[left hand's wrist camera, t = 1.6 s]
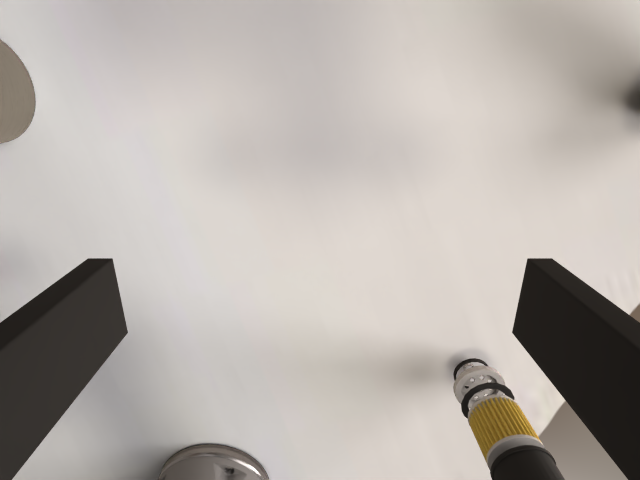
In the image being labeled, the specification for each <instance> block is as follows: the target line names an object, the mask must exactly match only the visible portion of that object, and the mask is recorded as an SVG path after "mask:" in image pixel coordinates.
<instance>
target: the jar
mask: <svg viewBox="0 0 640 480" xmlns="http://www.w3.org/2000/svg"><path fill="white" fill-rule="evenodd" d="M34 111H35V93H34V88H33V84H32V81H31V78H30V76H29V74H28V71H27V70H26V68H25V66H24V64H23V63H22V61H21V60H20V59H19V57H18V56H17V55H16V54H15V52H14V51H13V50H12V49H11V48H10V47H9V46H8V45H7V44H5V43H4V42H3V41H1V40H0V143H4V142H9V141H11V140H14V139H15V138H17V137H19V136H20V135H21V134H22V133H24V131H25V130H26V129H27V128H28V126H29V125H30V123H31V121H32V118H33V115H34Z"/></svg>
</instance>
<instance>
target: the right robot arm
mask: <svg viewBox="0 0 640 480" xmlns="http://www.w3.org/2000/svg"><path fill="white" fill-rule="evenodd" d="M158 480H269V478H268V476H267V473H266V472H265V470H264V468H263V467H262V466H261V465H260V464H259V463H258V462H257V461H256V460H255V459H254V458H252V457H251V456H249V455H248V454H246V453H244V452H242V451H240V450H237V449H235V448H231V447H227V446H222V445H212V444H207V445H197V446H192V447H189V448H186V449H184V450H181V451H179V452H178V453H176V454H174V455H173V456H172V457H171V458H170V459H169V460H168V461H167V462H166V463H165V465H164V467H163V469H162V471H161V473H160V476H159V478H158Z"/></svg>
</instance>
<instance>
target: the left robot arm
mask: <svg viewBox="0 0 640 480" xmlns="http://www.w3.org/2000/svg"><path fill="white" fill-rule="evenodd" d="M127 333H128V331H127V327H126V322H125V317H124V312H123V307H122V302H121V298H120V293H119V288H118V283H117V278H116V273H115V269H114V264H113V259H87V260H86V261H84V262H83V263H81V264H80V265H79V266H77V267H76V268H75V269H73V270H72V271H70V272H69V273H68V274H66V275H65V276H64V277H62V278H61V279H60V280H58V281H57V282H55V283H54V284H53V285H51V286H50V287H49V288H47V289H46V290H45V291H43V292H42V293H40V294H39V295H38V296H36V297H35V298H34V299H32V300H31V301H29V302H28V303H27V304H25V305H24V306H23V307H21V308H20V309H19V310H17V311H16V312H14V313H13V314H12V315H10V316H9V317H8V318H6V319H5V320H4V321H2V322H1V323H0V480H12V479H13V477H14V476H15V475H16V474H17V472H18V471H19V470H20V468H21V467H22V466H23V465H24V463H25V462H26V461H27V460H28V458H29V457H30V456H31V455H32V453H33V452H34V451H35V449H36V448H37V447H38V446H39V444H40V443H41V442H42V441H43V439H44V438H45V437H46V435H47V434H48V433H49V432H50V430H51V429H52V428H53V427H54V425H55V424H56V423H57V422H58V420H59V419H60V418H61V416H62V415H63V414H64V413H65V411H66V410H67V409H68V408H69V406H70V405H71V404H72V403H73V401H74V400H75V399H76V397H77V396H78V395H79V394H80V392H81V391H82V390H83V389H84V387H85V386H86V385H87V384H88V382H89V381H90V380H91V378H92V377H93V376H94V375H95V373H96V372H97V371H98V370H99V368H100V367H101V366H102V365H103V363H104V362H105V361H106V359H107V358H108V357H109V356H110V354H111V353H112V352H113V351H114V349H115V348H116V347H117V346H118V344H119V343H120V342H121V340H122V339H123V338H124V337H125V335H126V334H127ZM512 333H513V334H514V335H515V337H516V338H517V339H518V340H519V342H520V343H521V344H522V346H523V347H524V348H525V349H526V351H527V352H528V353H529V354H530V356H531V357H532V358H533V359H534V361H535V362H536V363H537V365H538V366H539V367H540V368H541V370H542V371H543V372H544V373H545V375H546V376H547V377H548V378H549V380H550V381H551V382H552V384H553V385H554V386H555V387H556V389H557V390H558V391H559V392H560V394H561V395H562V396H563V397H564V399H565V400H566V401H567V402H568V404H569V405H570V406H571V408H572V409H573V410H574V411H575V413H576V414H577V415H578V416H579V418H580V419H581V420H582V422H583V423H584V424H585V425H586V427H587V428H588V429H589V430H590V432H591V433H592V434H593V435H594V437H595V438H596V439H597V441H598V442H599V443H600V444H601V446H602V447H603V448H604V449H605V451H606V452H607V453H608V454H609V456H610V457H611V458H612V460H613V461H614V462H615V463H616V465H617V466H618V467H619V468H620V470H621V471H622V472H623V473H624V475H625V476H626V477H627V479H628V480H640V323H639V322H638V321H636V320H635V319H634V318H632V317H631V316H630V315H628V314H627V313H626V312H624V311H623V310H621V309H620V308H619V307H617V306H616V305H615V304H613V303H612V302H611V301H609V300H608V299H606V298H605V297H604V296H602V295H601V294H600V293H598V292H597V291H595V290H594V289H593V288H591V287H590V286H589V285H587V284H586V283H585V282H583V281H582V280H580V279H579V278H578V277H576V276H575V275H574V274H572V273H571V272H570V271H568V270H567V269H565V268H564V267H563V266H561V265H560V264H559V263H557V262H556V261H554V260H553V259H527V264H526V269H525V273H524V278H523V283H522V288H521V293H520V298H519V302H518V307H517V312H516V317H515V322H514V327H513V331H512Z"/></svg>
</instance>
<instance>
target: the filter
mask: <svg viewBox="0 0 640 480" xmlns="http://www.w3.org/2000/svg"><path fill="white" fill-rule="evenodd" d="M470 362H479V363H482V364H484V365H485V366H475V367H473V365H472V364H470ZM463 365H464V366H463ZM468 365H471V366H472V368H469V369H467V370H465V367H466V366H468ZM462 366H463V367H464V371H463V372H462V373H461V374H460V375H459V376H458V377H457V379H456V374H457V371H458V370H459V369H460V367H462ZM453 375H454V380H455V383H454V387H453V388H454V393H455V396H456V398H457V400H458V401H459V403H461V407H462V412H463V414H464V416H465V417H466V418H467V419H468V422H469V425H470V427H471V429H472V431H473V433H474V435H475V438H476V440H477V442H478V444H479V447H480V449H481V451H482V453H483V456H484V458H485V460H486V462H487V465H488V467H489V469H490V474H491V478H492V480H565V479H564V478H563V476H562V474H561V473H560V471H559V469H558V468H557V466H556V462H555V460H554V458H553V457H552V455H551V454H550V453H549V452H548V451H547V450H546V449H545V447H544V445H543V444H542V442H541V441H540V439H539V438H538V436H537V434H536V433H535V431H534V430H533V428H532V426H531V425H530V423H529V422H528V420H527V418H526V417H525V415H524V414H523V412H522V410H521V409H520V407H519V406H518V404H517V403H516V401H515V400H514V396H513V394H512V392H511V390H510V389H508V388H507V387H506V386H505V382H504V379H503V378H502V376H501V375H500V373H499V372H498V371H497V370H495V369H493V368H491V367H488V365H487V364H486V363H485V362H484V361H482V360H480V359H475V358H474V359H467V360H465V361H462V362H461V363H459V364H458V365H457V367H456V368H455V370H454V374H453ZM481 375H482V376H484V378H483V379H482V380H481V379H480V378H479V377H480V376H481ZM471 378H473V379H474V382H471V381H470V379H471ZM490 379H492V381H491V382H490V383H488V380H490ZM489 389H492V390H489ZM481 390H482V391H481ZM479 391H480V392H479ZM485 394H488V395H487V396H484V395H485ZM503 394H505V395H503ZM476 396H478V398H477V399H476V398H474V397H476ZM469 408H471V409H470V410H469Z"/></svg>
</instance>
